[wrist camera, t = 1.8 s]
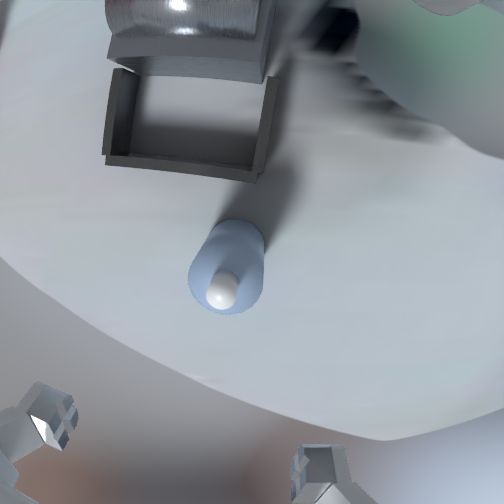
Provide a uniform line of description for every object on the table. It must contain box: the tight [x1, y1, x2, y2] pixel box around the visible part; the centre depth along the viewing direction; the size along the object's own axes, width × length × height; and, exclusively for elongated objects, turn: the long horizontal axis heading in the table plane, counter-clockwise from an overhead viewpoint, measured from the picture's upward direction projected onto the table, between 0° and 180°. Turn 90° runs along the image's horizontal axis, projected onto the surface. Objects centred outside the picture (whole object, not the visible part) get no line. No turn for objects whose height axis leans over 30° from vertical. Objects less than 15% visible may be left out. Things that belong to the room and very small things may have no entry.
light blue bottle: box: [188, 219, 264, 315], centre depth 23 cm, size 5×5×9 cm
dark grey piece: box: [102, 0, 279, 184], centre depth 17 cm, size 13×16×10 cm
